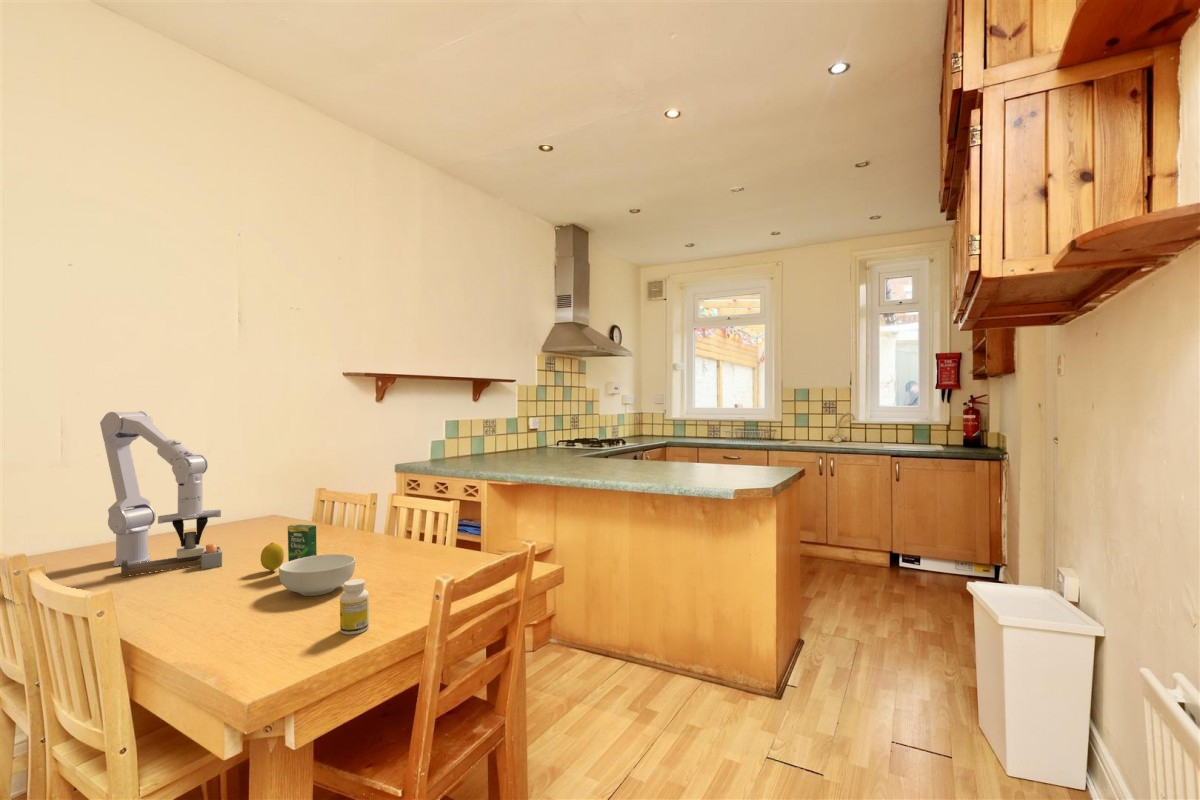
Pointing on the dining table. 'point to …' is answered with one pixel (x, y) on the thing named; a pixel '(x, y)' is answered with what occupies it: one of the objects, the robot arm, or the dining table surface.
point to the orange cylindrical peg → (211, 548)
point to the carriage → (189, 546)
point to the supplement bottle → (354, 607)
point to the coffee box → (301, 541)
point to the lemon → (272, 556)
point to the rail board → (158, 565)
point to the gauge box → (211, 559)
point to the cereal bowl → (316, 573)
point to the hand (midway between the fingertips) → (190, 545)
